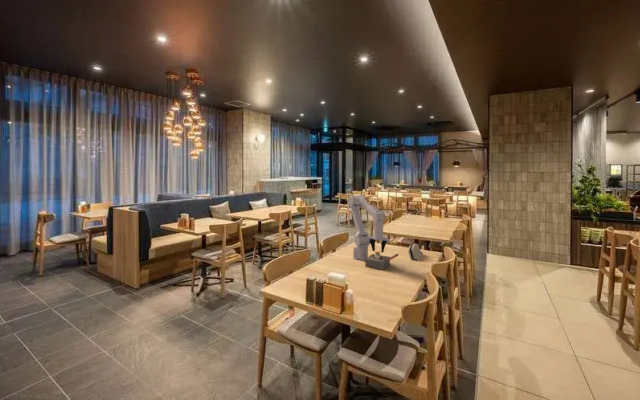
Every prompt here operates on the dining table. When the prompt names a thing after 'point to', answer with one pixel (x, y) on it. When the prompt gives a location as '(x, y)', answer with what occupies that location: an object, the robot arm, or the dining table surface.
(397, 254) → the bar
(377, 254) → the pin
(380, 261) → the pin block
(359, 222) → the robot arm
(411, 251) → the hinge
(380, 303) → the dining table surface
